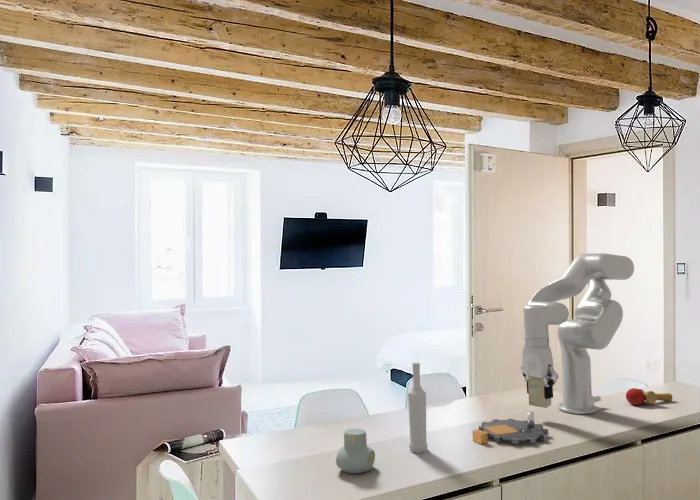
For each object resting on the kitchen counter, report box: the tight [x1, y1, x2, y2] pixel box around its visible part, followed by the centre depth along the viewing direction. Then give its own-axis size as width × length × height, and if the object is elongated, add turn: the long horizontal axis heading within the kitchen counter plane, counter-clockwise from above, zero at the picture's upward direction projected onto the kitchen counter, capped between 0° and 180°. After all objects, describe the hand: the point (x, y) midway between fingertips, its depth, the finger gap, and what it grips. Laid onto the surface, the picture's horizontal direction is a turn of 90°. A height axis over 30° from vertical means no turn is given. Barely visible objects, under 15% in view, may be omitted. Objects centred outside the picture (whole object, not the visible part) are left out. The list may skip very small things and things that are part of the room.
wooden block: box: [472, 428, 489, 446], centre depth 167 cm, size 17×7×3 cm, turn 116°
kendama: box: [625, 387, 673, 406], centre depth 200 cm, size 8×6×18 cm
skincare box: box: [528, 369, 552, 409], centre depth 183 cm, size 6×4×12 cm
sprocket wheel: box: [478, 411, 549, 445], centre depth 169 cm, size 20×20×5 cm
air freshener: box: [335, 428, 376, 474], centre depth 145 cm, size 11×8×10 cm
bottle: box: [407, 361, 428, 454], centre depth 159 cm, size 5×5×25 cm
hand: (539, 395), depth 183 cm, fingers closed on skincare box, 7 cm apart
